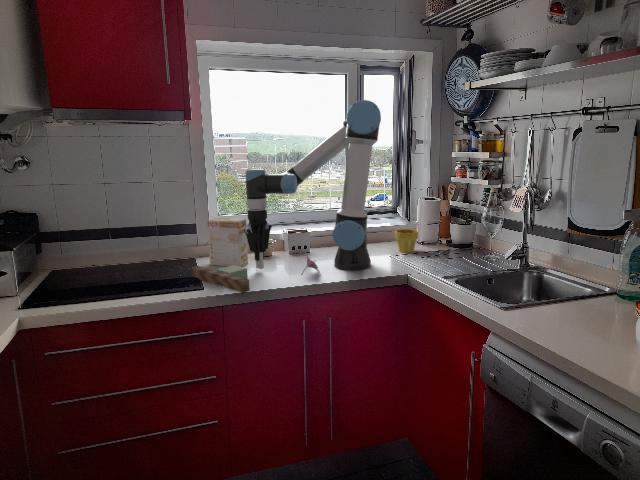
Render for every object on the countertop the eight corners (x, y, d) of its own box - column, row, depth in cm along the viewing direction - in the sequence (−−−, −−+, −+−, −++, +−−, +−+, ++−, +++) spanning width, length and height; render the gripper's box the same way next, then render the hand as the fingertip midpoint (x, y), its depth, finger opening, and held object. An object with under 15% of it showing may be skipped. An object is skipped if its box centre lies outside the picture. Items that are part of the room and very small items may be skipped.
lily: (315, 283, 167) (326, 260, 167) (287, 269, 169) (299, 246, 169) (320, 283, 179) (330, 262, 179) (294, 270, 181) (304, 249, 181)
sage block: (247, 279, 169) (247, 268, 169) (230, 284, 164) (230, 273, 163) (234, 276, 175) (233, 264, 174) (217, 280, 169) (216, 269, 168)
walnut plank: (249, 290, 156) (249, 279, 155) (242, 292, 154) (242, 281, 153) (198, 275, 175) (197, 265, 174) (191, 277, 173) (190, 267, 172)
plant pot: (400, 254, 204) (401, 233, 202) (391, 249, 214) (391, 229, 212) (421, 253, 207) (422, 232, 205) (411, 248, 217) (412, 228, 215)
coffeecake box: (248, 263, 192) (246, 218, 188) (240, 267, 185) (237, 221, 181) (219, 260, 197) (216, 217, 193) (209, 264, 191) (206, 219, 187)
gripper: (262, 206, 181) (265, 263, 186) (237, 210, 172) (241, 270, 176) (275, 207, 177) (278, 265, 181) (250, 212, 167) (254, 273, 172)
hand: (260, 267), depth 179 cm, fingers closed
